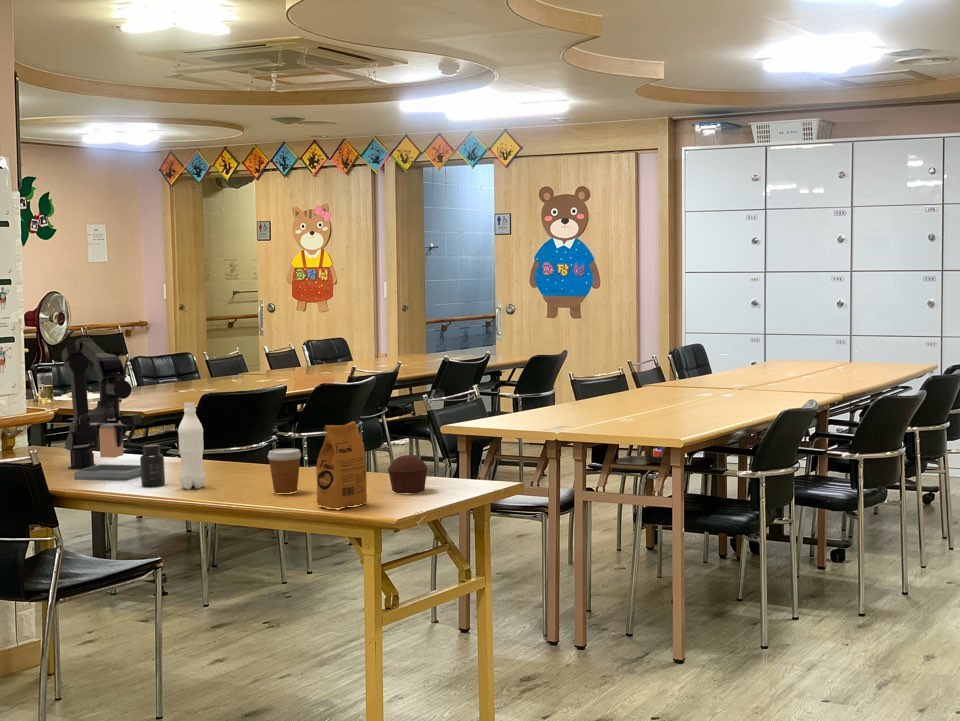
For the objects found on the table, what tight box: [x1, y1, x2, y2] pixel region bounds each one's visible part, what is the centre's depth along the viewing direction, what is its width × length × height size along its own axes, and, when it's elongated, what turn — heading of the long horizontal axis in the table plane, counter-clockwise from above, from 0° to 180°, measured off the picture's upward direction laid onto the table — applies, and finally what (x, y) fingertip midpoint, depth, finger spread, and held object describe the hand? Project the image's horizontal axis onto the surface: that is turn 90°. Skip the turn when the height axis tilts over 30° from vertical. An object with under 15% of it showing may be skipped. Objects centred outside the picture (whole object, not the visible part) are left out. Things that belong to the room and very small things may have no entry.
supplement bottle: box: [139, 444, 166, 488], centre depth 350 cm, size 7×7×12 cm
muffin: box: [387, 454, 428, 494], centre depth 331 cm, size 12×11×10 cm
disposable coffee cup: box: [267, 448, 302, 493], centre depth 333 cm, size 10×10×12 cm
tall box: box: [99, 422, 124, 458], centre depth 369 cm, size 5×5×10 cm
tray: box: [73, 463, 141, 481], centre depth 369 cm, size 18×14×2 cm
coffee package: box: [315, 421, 368, 508], centre depth 311 cm, size 10×12×22 cm
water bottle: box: [177, 401, 206, 490], centre depth 344 cm, size 7×7×25 cm
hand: (111, 446), depth 369 cm, fingers closed on tall box, 5 cm apart
